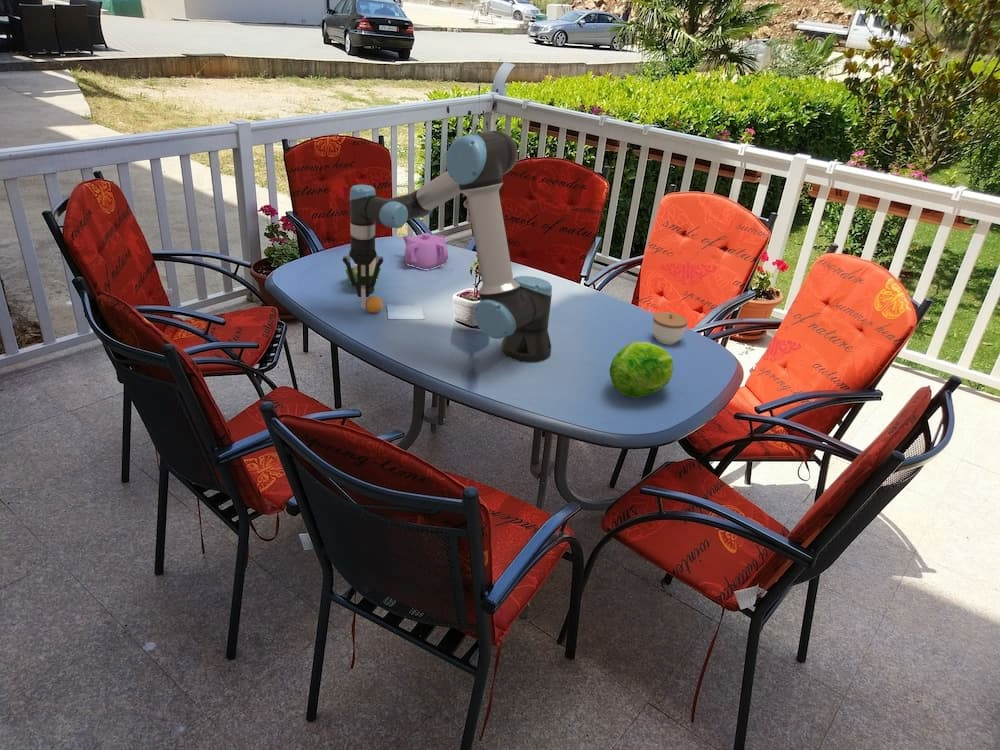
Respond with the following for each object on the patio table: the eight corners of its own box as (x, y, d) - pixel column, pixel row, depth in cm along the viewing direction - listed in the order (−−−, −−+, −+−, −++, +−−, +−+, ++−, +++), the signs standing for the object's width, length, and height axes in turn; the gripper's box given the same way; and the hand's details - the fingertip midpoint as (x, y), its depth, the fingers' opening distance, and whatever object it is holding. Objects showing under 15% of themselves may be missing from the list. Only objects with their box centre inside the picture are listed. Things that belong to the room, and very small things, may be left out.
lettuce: (630, 364, 209) (676, 389, 202) (590, 390, 193) (639, 418, 186) (644, 321, 201) (693, 345, 194) (603, 345, 185) (655, 373, 178)
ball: (374, 319, 232) (387, 309, 231) (364, 309, 228) (377, 299, 227) (370, 309, 235) (383, 299, 235) (360, 299, 231) (373, 289, 231)
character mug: (368, 284, 254) (367, 250, 247) (383, 289, 250) (383, 254, 244) (347, 293, 245) (345, 257, 239) (362, 298, 242) (361, 262, 236)
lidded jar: (661, 330, 236) (666, 304, 231) (689, 342, 229) (695, 315, 225) (643, 338, 229) (647, 312, 224) (670, 350, 222) (676, 323, 218)
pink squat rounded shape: (406, 271, 268) (407, 240, 263) (402, 257, 283) (402, 227, 277) (450, 271, 272) (452, 240, 266) (444, 257, 287) (445, 227, 281)
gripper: (383, 233, 224) (383, 301, 235) (341, 231, 222) (343, 301, 233) (384, 240, 218) (383, 310, 229) (341, 239, 215) (342, 310, 226)
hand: (363, 305), depth 231 cm, fingers closed
